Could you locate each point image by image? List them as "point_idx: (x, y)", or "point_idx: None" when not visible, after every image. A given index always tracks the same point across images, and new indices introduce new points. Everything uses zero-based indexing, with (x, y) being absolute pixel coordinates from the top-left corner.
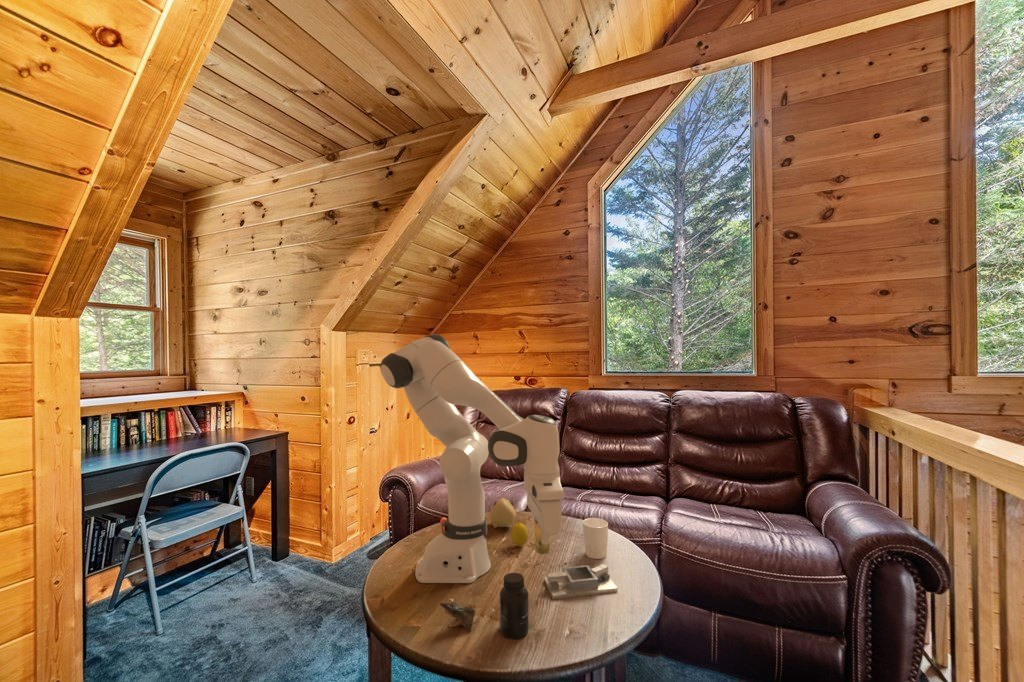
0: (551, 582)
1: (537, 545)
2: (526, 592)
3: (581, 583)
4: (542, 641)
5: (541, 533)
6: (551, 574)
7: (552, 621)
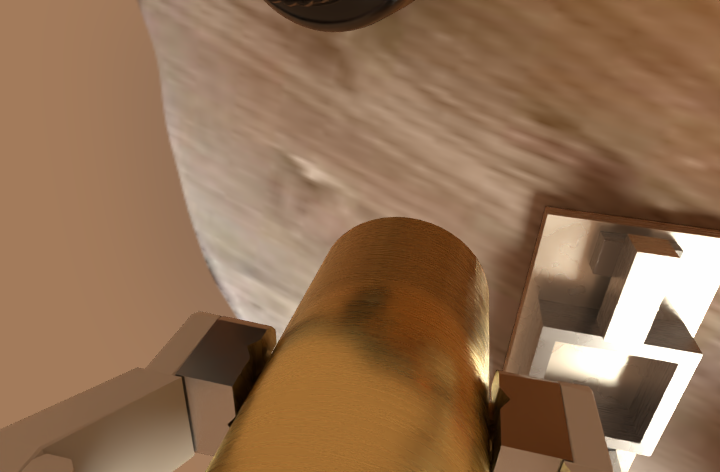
0: (625, 248)
1: (340, 264)
2: (282, 9)
3: (529, 360)
4: (276, 52)
5: (100, 405)
6: (658, 275)
7: (389, 142)
